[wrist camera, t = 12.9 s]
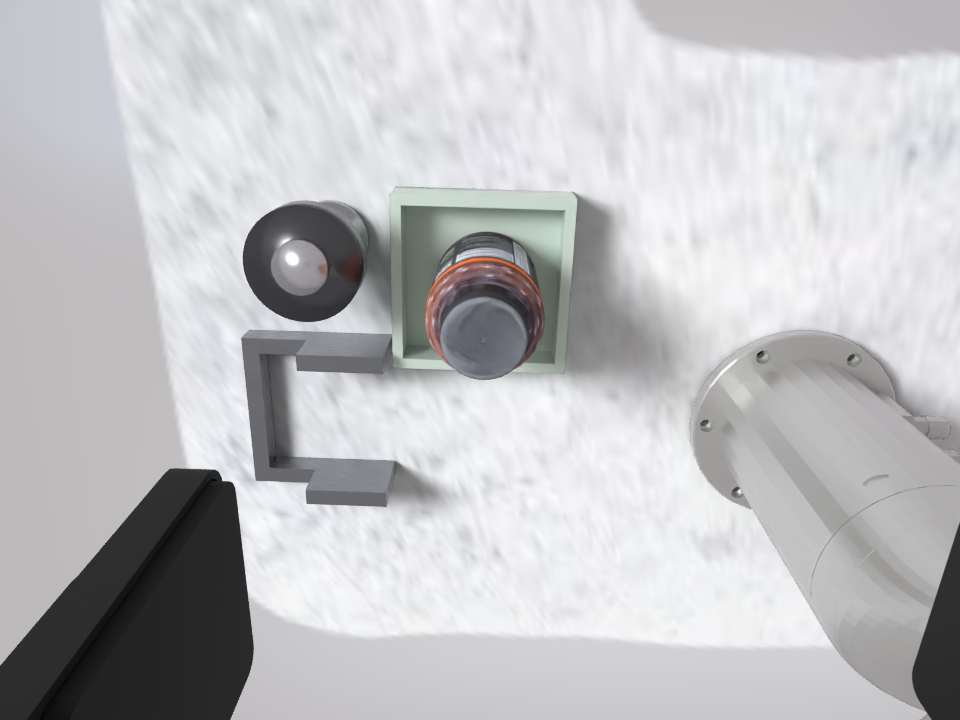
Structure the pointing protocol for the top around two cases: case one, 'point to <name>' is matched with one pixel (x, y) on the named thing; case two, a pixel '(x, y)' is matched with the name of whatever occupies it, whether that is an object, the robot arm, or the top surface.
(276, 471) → the bracket
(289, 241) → the pulley
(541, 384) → the top surface
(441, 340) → the supplement bottle
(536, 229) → the tray
